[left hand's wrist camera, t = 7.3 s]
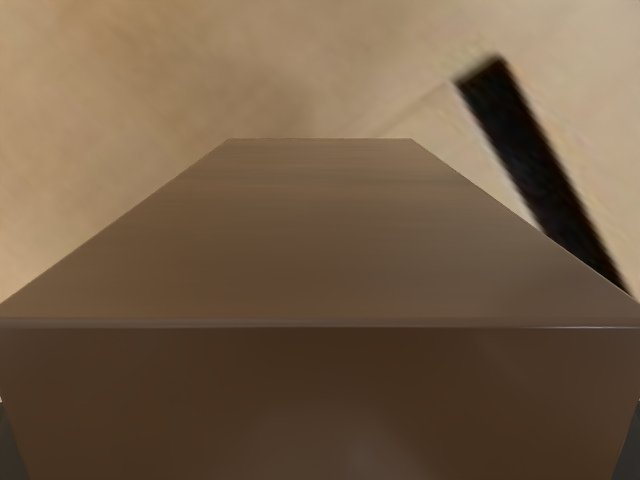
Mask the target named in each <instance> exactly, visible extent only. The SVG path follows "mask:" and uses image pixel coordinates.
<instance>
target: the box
mask: <svg viewBox="0 0 640 480" xmlns="http://www.w3.org/2000/svg"><path fill="white" fill-rule="evenodd" d="M0 396H1V399H2V402H3V405H4V408H5V411H6V414H7V417H8V419H9V422H10V425H11V428H12V431H13V434H14V437H15V440H16V442H17V445H18V448H19V451H20V454H21V457H22V460H23V463H24V465H25V468H26V471H27V474H28V477H29V480H611V479H612V476H613V473H614V470H615V468H616V465H617V462H618V459H619V456H620V453H621V450H622V447H623V445H624V442H625V439H626V436H627V433H628V430H629V427H630V425H631V422H632V419H633V416H634V413H635V410H636V407H637V404H638V402H639V399H640V303H639V302H637V301H636V300H635V299H633V298H632V297H631V296H629V295H628V294H626V293H625V292H624V291H622V290H621V289H619V288H618V287H617V286H615V285H614V284H612V283H611V282H610V281H608V280H607V279H605V278H604V277H603V276H601V275H600V274H599V273H597V272H596V271H594V270H593V269H592V268H590V267H589V266H587V265H586V264H585V263H583V262H582V261H580V260H579V259H578V258H576V257H575V256H574V255H572V254H571V253H569V252H568V251H567V250H565V249H564V248H562V247H561V246H560V245H558V244H557V243H555V242H554V241H553V240H551V239H550V238H549V237H547V236H546V235H544V234H543V233H542V232H540V231H539V230H537V229H536V228H535V227H533V226H532V225H530V224H529V223H528V222H526V221H525V220H524V219H522V218H521V217H519V216H518V215H517V214H515V213H514V212H512V211H511V210H510V209H508V208H507V207H505V206H504V205H503V204H501V203H500V202H499V201H497V200H496V199H494V198H493V197H492V196H490V195H489V194H487V193H486V192H485V191H483V190H482V189H480V188H479V187H478V186H476V185H475V184H473V183H472V182H471V181H469V180H468V179H467V178H465V177H464V176H462V175H461V174H460V173H458V172H457V171H455V170H454V169H453V168H451V167H450V166H448V165H447V164H446V163H444V162H443V161H442V160H440V159H439V158H437V157H436V156H435V155H433V154H432V153H430V152H429V151H428V150H426V149H425V148H423V147H422V146H421V145H419V144H418V143H417V142H415V141H414V140H412V139H228V140H226V141H225V142H224V143H222V144H221V145H220V146H218V147H217V148H215V149H214V150H213V151H211V152H210V153H208V154H207V155H206V156H204V157H203V158H202V159H200V160H199V161H197V162H196V163H195V164H193V165H192V166H190V167H189V168H188V169H186V170H185V171H184V172H182V173H181V174H179V175H178V176H177V177H175V178H174V179H172V180H171V181H170V182H168V183H167V184H165V185H164V186H163V187H161V188H160V189H159V190H157V191H156V192H154V193H153V194H152V195H150V196H149V197H147V198H146V199H145V200H143V201H142V202H141V203H139V204H138V205H136V206H135V207H134V208H132V209H131V210H129V211H128V212H127V213H125V214H124V215H123V216H121V217H120V218H118V219H117V220H116V221H114V222H113V223H111V224H110V225H109V226H107V227H106V228H104V229H103V230H102V231H100V232H99V233H98V234H96V235H95V236H93V237H92V238H91V239H89V240H88V241H86V242H85V243H84V244H82V245H81V246H80V247H78V248H77V249H75V250H74V251H73V252H71V253H70V254H68V255H67V256H66V257H64V258H63V259H62V260H60V261H59V262H57V263H56V264H55V265H53V266H52V267H50V268H49V269H48V270H46V271H45V272H43V273H42V274H41V275H39V276H38V277H37V278H35V279H34V280H32V281H31V282H30V283H28V284H27V285H25V286H24V287H23V288H21V289H20V290H19V291H17V292H16V293H14V294H13V295H12V296H10V297H9V298H7V299H6V300H5V301H3V302H2V303H1V304H0Z"/></svg>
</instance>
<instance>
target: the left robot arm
mask: <svg viewBox="0 0 640 480" xmlns="http://www.w3.org/2000/svg"><path fill="white" fill-rule="evenodd" d="M0 480H29V477H28V474H27V471H26V468H25V465H24V463H23V460H22V457H21V454H20V451H19V448H18V445H17V442H16V440H15V437H14V434H13V431H12V428H11V425H10V422H9V419H8V417H7V414H6V411H5V408H4V405H3V402H1V403H0ZM611 480H640V401H639V402H638V404H637V407H636V410H635V413H634V416H633V419H632V422H631V425H630V427H629V430H628V433H627V436H626V439H625V442H624V445H623V447H622V450H621V453H620V456H619V459H618V462H617V465H616V468H615V470H614V473H613V476H612V479H611Z"/></svg>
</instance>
